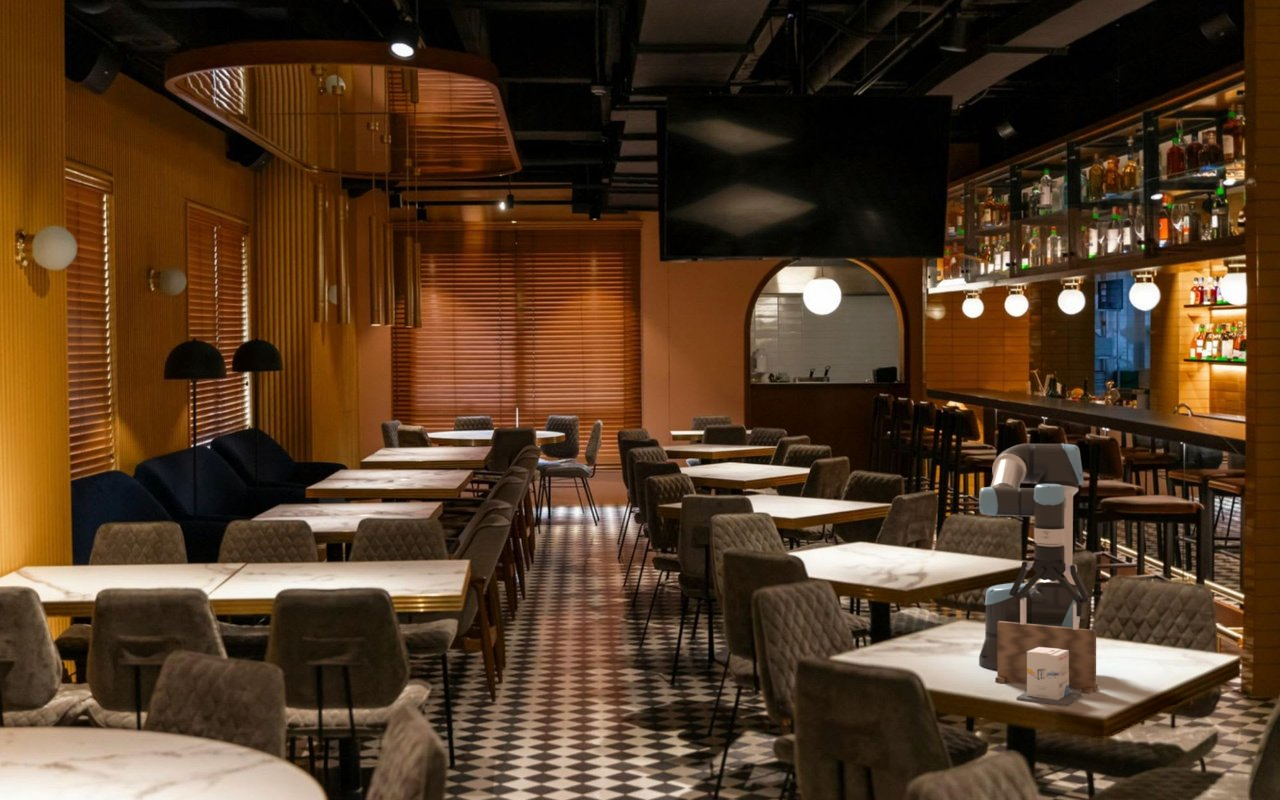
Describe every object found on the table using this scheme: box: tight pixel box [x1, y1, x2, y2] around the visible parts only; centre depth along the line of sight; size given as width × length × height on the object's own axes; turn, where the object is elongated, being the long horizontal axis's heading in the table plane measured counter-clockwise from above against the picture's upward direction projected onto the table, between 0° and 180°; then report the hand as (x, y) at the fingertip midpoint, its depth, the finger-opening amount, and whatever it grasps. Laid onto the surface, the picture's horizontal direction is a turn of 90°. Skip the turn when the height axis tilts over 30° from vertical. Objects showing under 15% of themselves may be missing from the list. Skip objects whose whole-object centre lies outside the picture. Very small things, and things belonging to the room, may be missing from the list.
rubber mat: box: [1016, 690, 1083, 707], centre depth 356 cm, size 13×13×1 cm
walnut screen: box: [995, 621, 1099, 694], centre depth 370 cm, size 26×7×16 cm, turn 57°
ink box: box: [1026, 647, 1070, 700], centre depth 356 cm, size 9×8×12 cm
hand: (1049, 626), depth 356 cm, fingers open, 13 cm apart
